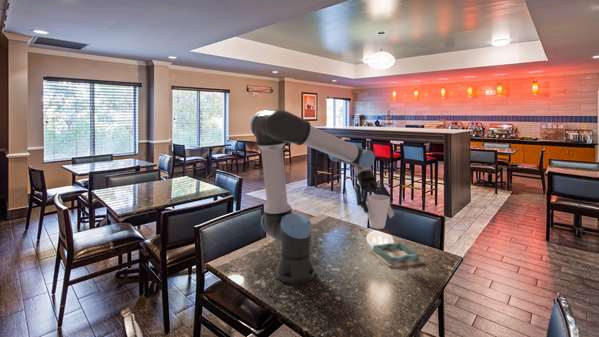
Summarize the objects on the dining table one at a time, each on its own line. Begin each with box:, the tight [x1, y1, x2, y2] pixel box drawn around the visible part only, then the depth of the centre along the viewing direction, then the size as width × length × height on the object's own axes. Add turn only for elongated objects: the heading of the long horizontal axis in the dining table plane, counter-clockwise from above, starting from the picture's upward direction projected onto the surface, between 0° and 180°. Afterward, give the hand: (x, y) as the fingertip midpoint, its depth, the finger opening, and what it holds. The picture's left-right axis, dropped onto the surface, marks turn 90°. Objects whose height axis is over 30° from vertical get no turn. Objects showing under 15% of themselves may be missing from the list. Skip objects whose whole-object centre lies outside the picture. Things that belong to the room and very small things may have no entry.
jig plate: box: [368, 241, 425, 269], centre depth 147 cm, size 17×17×4 cm
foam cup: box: [366, 193, 391, 230], centre depth 141 cm, size 10×9×13 cm
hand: (381, 217), depth 139 cm, fingers closed on foam cup, 9 cm apart
